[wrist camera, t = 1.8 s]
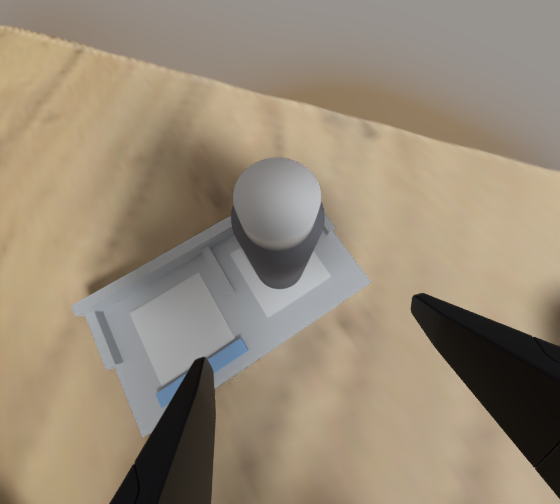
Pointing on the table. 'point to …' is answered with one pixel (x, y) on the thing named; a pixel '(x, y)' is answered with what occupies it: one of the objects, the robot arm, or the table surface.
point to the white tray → (207, 313)
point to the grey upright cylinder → (277, 219)
